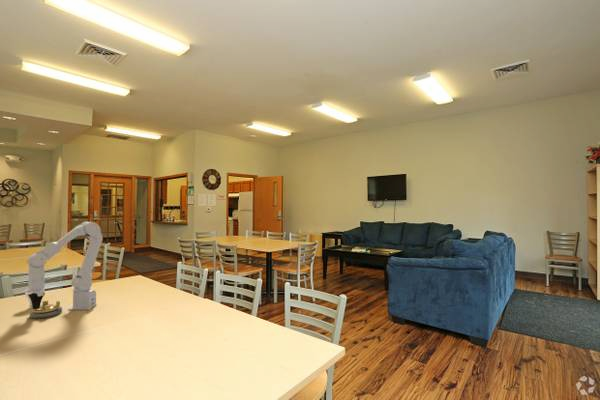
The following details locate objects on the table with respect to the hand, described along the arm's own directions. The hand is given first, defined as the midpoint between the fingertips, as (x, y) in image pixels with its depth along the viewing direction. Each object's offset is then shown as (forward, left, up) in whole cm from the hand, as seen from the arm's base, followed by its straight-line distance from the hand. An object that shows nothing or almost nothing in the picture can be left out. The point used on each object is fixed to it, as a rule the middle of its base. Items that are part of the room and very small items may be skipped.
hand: (36, 308), depth 143 cm
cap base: (-2, -4, -4) cm, 6 cm away
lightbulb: (+12, -14, -4) cm, 19 cm away
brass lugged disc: (-2, -4, -2) cm, 5 cm away
